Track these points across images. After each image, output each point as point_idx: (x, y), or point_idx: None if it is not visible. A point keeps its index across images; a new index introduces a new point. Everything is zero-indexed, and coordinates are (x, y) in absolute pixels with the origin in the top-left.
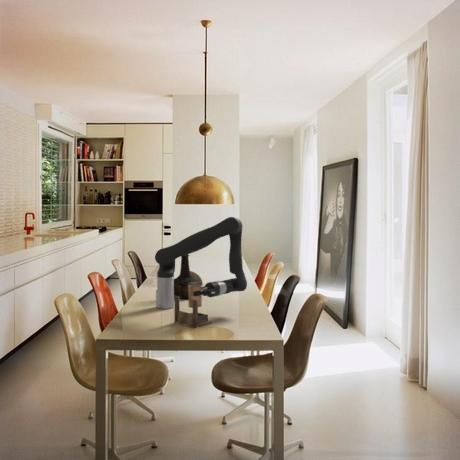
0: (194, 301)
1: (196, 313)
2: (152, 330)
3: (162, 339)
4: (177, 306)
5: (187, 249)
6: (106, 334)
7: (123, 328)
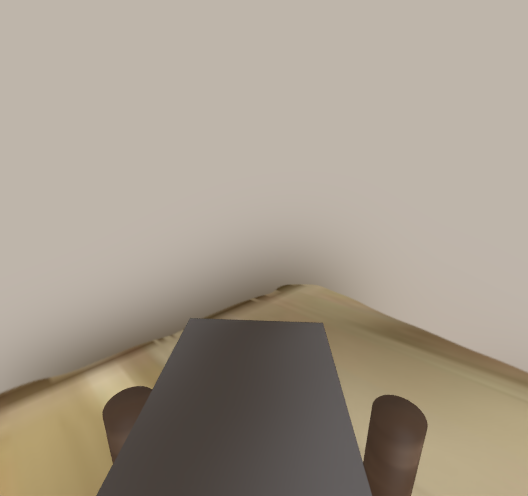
0: (129, 393)
1: None
2: None
3: None
4: None
5: None
6: (337, 296)
7: (379, 336)
